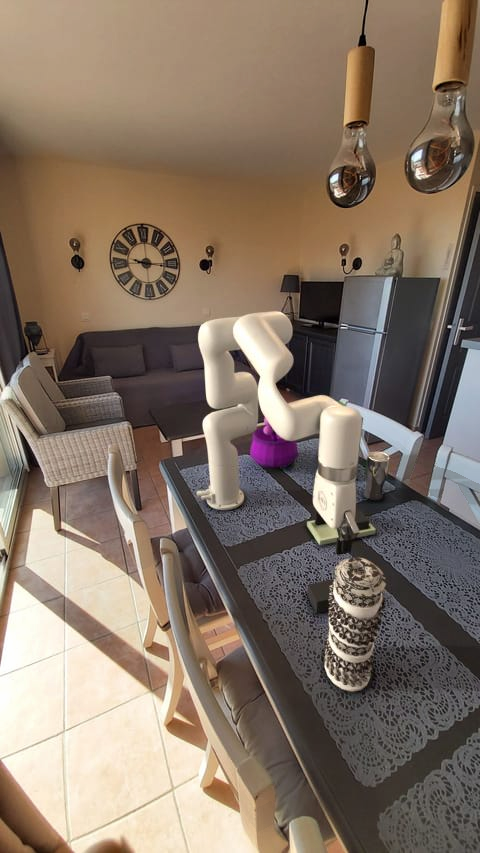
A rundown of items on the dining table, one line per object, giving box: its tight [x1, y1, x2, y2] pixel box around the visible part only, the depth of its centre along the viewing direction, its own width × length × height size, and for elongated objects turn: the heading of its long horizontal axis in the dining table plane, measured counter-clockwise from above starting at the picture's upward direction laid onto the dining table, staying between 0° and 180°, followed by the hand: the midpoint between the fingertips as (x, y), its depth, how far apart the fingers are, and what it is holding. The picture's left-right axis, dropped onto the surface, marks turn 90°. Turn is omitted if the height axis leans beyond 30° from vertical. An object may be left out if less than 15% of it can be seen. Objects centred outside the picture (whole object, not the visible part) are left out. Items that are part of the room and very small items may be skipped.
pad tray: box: [306, 519, 377, 546], centre depth 105 cm, size 17×9×2 cm, turn 104°
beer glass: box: [363, 451, 390, 501], centre depth 118 cm, size 7×7×15 cm
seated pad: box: [341, 510, 370, 533], centre depth 105 cm, size 7×5×4 cm
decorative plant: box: [249, 417, 299, 469], centre depth 138 cm, size 19×18×30 cm
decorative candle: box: [324, 556, 387, 692], centre depth 64 cm, size 9×9×25 cm
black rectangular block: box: [306, 577, 336, 614], centre depth 82 cm, size 7×5×4 cm
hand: (331, 537), depth 78 cm, fingers open, 9 cm apart
